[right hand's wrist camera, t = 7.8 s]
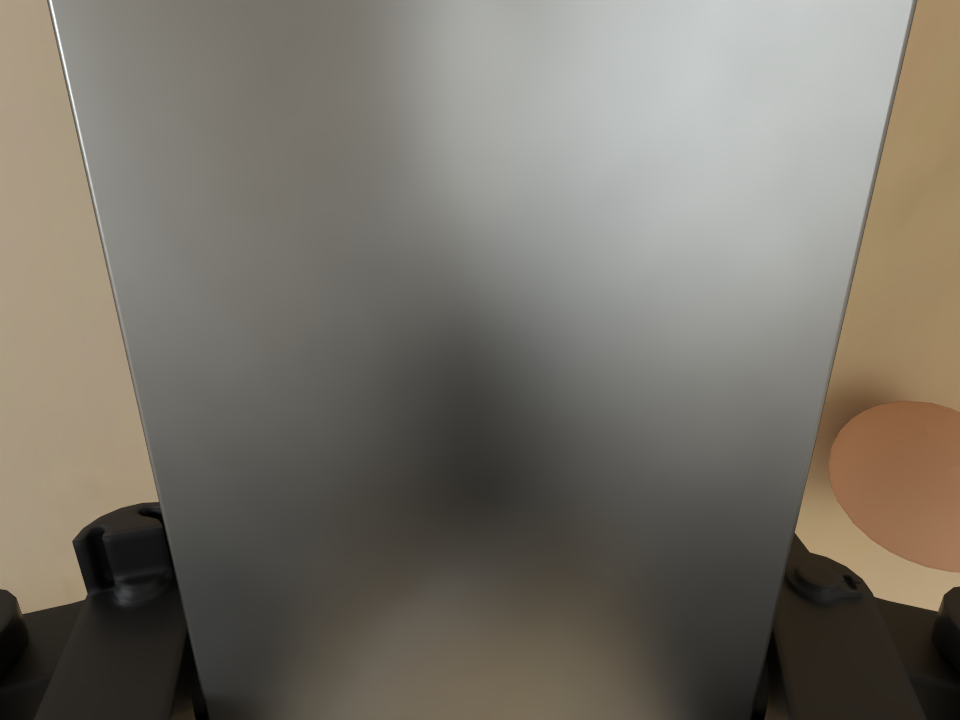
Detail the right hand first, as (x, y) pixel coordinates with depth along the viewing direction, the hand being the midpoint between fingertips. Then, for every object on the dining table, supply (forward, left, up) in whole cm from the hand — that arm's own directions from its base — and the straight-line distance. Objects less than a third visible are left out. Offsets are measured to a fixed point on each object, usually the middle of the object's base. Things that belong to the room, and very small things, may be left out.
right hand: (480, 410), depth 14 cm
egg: (-7, -18, -12) cm, 22 cm away
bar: (+9, 0, -1) cm, 9 cm away
